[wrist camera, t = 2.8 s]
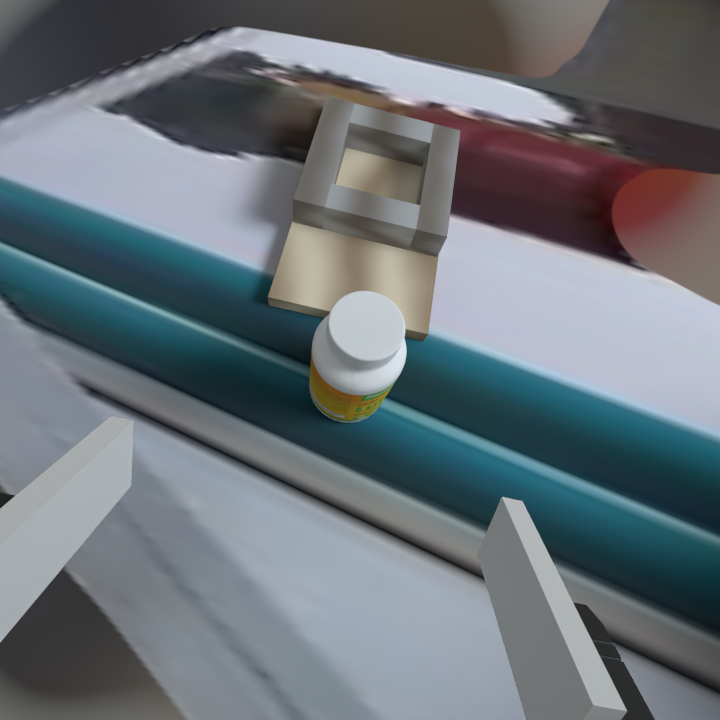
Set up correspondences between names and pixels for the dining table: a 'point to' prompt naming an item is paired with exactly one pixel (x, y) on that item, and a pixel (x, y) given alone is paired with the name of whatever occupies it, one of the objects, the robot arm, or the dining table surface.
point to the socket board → (357, 259)
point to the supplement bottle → (356, 356)
